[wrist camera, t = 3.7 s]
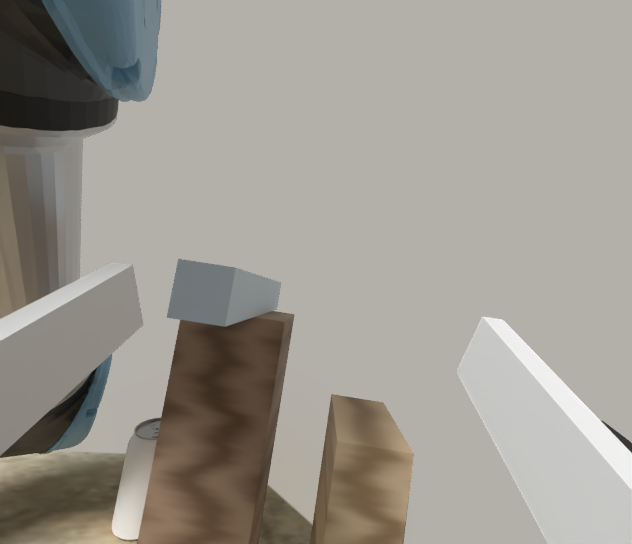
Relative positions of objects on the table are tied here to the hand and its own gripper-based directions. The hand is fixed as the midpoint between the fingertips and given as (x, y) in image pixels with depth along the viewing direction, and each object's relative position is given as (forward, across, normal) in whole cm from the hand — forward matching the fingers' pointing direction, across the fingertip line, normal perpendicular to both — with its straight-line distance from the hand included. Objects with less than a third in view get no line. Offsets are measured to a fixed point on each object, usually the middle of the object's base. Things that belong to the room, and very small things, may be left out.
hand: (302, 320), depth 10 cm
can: (+8, -18, -42) cm, 46 cm away
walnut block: (+2, -7, -38) cm, 39 cm away
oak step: (-2, +7, -36) cm, 37 cm away
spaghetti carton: (+15, -7, -11) cm, 20 cm away
